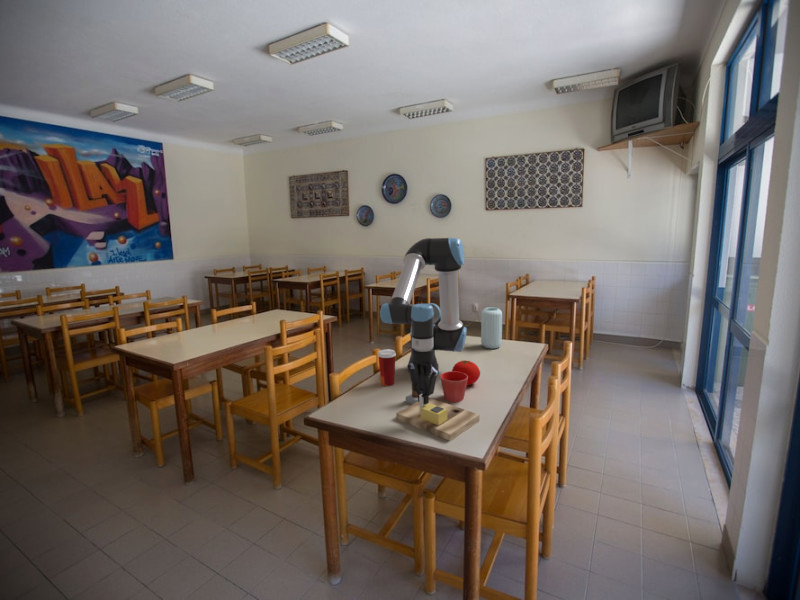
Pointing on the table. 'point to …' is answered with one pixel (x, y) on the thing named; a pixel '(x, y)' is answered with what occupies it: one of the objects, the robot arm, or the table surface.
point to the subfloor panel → (449, 429)
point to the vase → (491, 327)
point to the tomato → (468, 370)
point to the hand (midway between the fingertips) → (423, 411)
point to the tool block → (411, 399)
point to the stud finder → (433, 414)
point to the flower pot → (454, 385)
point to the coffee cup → (387, 366)
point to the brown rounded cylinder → (414, 393)
